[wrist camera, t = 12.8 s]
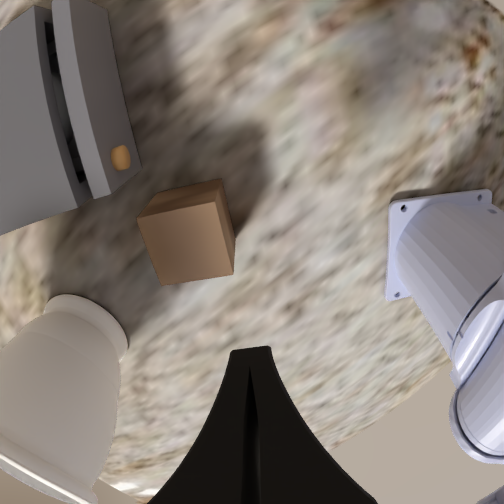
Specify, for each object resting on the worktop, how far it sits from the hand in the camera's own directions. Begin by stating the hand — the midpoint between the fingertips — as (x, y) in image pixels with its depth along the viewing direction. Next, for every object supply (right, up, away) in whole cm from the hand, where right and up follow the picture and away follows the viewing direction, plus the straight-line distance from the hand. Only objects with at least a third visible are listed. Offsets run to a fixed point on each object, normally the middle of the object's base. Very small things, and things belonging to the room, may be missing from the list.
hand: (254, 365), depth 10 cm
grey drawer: (-12, +13, +4) cm, 18 cm away
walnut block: (-3, +6, +8) cm, 10 cm away
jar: (-15, -3, +13) cm, 20 cm away
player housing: (-14, +13, +4) cm, 19 cm away
